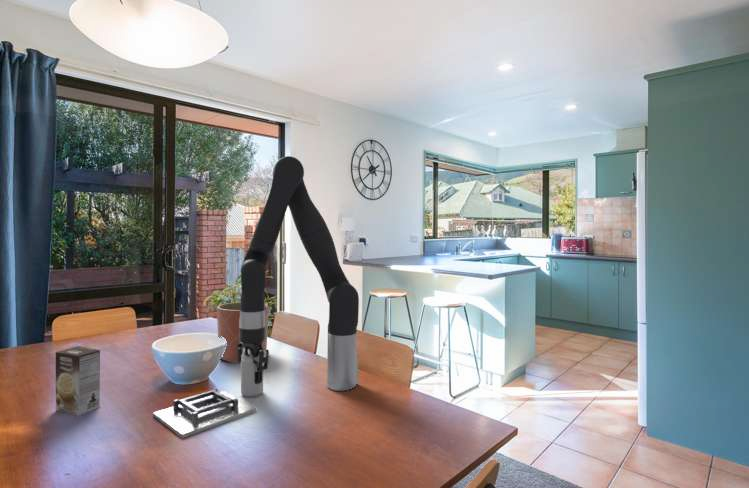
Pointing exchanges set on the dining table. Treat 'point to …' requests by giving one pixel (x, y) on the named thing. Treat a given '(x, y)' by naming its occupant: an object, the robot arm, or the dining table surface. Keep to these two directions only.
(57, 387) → the coffee box
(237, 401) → the collar stand
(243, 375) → the beverage can
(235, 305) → the planter
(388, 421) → the dining table surface
